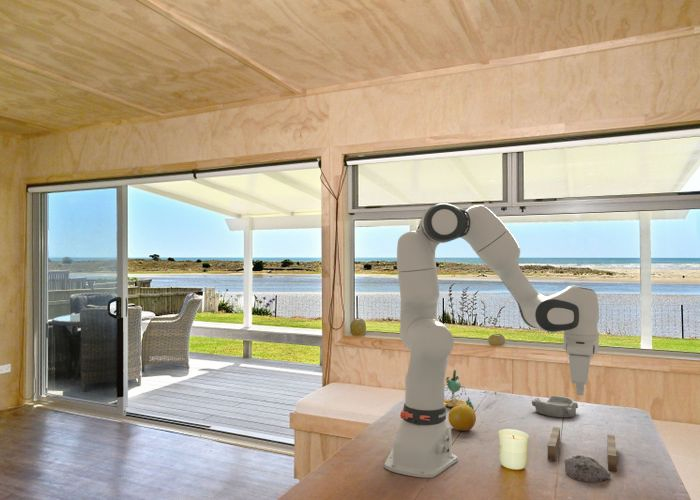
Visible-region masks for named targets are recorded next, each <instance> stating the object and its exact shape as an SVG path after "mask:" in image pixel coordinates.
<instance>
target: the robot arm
mask: <svg viewBox="0 0 700 500" xmlns="http://www.w3.org/2000/svg"><path fill="white" fill-rule="evenodd" d="M457 239H463V240H464V241H465V242H466V243H468V244H469V246H470V247H471V248H472V250H473V251H474V252H475V254H476V255H477V256H478V258H479V259H480V260H481V261H482V262H483V263H484V264H485V265H486V266H487V267H488V268H489V269H490V270H491V271H492V272H493V273H494V274H495V275H496V276H497V277H498V278H499V279H500V280H501V282H502V283H503V284H504V285H505V287H506V288H507V290H508V291H509V292H510V294H511V295H512V296H513V298H514V300H515V301H516V303H517V306H518V309H519V313H520V317H521V319H522V321H523V322H524V323H525V324H526V325H527V326H528V327H530V328H533V329H538V330H541V331H544V332H548V333H555V332H563V350H565V352H566V354H567V356H568V360H569V372H570V380H571V384H575V389H576V395H577V396H581V397H582V396H584V395H585V394H584V393H585V386H586V385H587V383H588V378H589V371H590V363H591V360H592V359H593V358H594V354H597V353H599V338H600V337H599V330H598V323H599V319H600V313H599V312H600V309H599V306H600V305H599V299H598V295H597V293H596V291H595V290H594V289H591V288H589V287H584V286H579V285H568V286H567V287H566V288H565V289H563V290H561V291H558V292H557V293H555V294H551V295H549V296H546V295H543V294H541V293H540V292H539V291H537V290H536V289H535V288H534V286H533V285H532V284H531V282H530V280H529V279H528V278H527V277H526V275H525V273H524V272H523V270H522V269H521V267H520V263H519V261H520V259H519V258H520V256H521V248H520V245H519V243H518V241H517V240H516V238H515V236H514V235H513V234H512V232H511V231H510V230H509V228H508V227H507V226H506V224H504V222H503V221H502V219H500V218H499V217H498V216H497V215H496V214H495V213H494V212H493V211H492V210H490V209H489V208H488V207H486V206H485V205H481V204H477V205H473V206H470V207H469V208H467V209H463V208H461V207H458V206H456V205H453V204H452V203H447V202H446V203H445V202H440V203H437V204H434V205H431V206H430V207H428V208H427V209H426V210H425V212H424V213H423V214H422V218H421V219H420V221H419V223H418V226H417V229H415V230H410V231H407V232H405V233H404V234H402V235H400V236H399V238H398V240H397V247H396V265H397V267H396V268H397V276H398V283H399V286H398V287H399V293H400V312H399V313H400V317H399V319H400V323H399V324H400V326H399V337H400V340H401V342H402V344H403V346H404V347H405V348H406V349H407V350H409V353H410V355H409V364H408V368H407V372H406V374H405V376H404V377H405V379H404V380H405V381H404V383H405V384H404V385H405V387H404V390H405V391H404V392H405V394H404V395H405V397H404V399H405V401H404V402H405V403H404V404H403V408H402V410H401V411H400V414H399V418H400V419H402V420H400V424H399V427H398V430H397V432H396V435H395V439H394V442H393V445H392V446H393V447H392V448H391V450H390V453H389V454H388V456H387V458H386V460H385V462H384V466H383V468H384V469H386V470H387V471H389V472H392V473H397V474H401V475H404V476H410V477H415V478H417V477H418V478H435V477H436V476H438V475H439V474H441V473H442V472H443V471H445V470H446V469H448V468H449V467H451V466H452V465H453V464H455V463H456V462H458V455H456V454H454V453H453V443H452V429H451V428H450V426H449V425H448V424H447V422H446V419H447V409H446V408H447V406H445V405H444V400H445V391H444V390H445V387H444V384H445V380H446V373H447V366H448V362H449V357H450V355H451V353H452V352H453V350H454V344H455V340H454V336H453V334H452V332H451V331H450V329H449V328H448V327H447V326H446V325H445V324H444V323H443V322H441V321H439V320H438V319H437V311H438V301H439V298H440V289H439V287H440V286H439V279H438V271H437V263H436V249H437V247H438V246H439V245H440V244H445V243H448V242H451V241H454V240H457Z"/></svg>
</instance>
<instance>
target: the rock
mask: <svg viewBox="0 0 700 500" xmlns="http://www.w3.org/2000/svg"><path fill="white" fill-rule="evenodd" d="M563 462H564V471H565V473H566V474H567V475H568V476H569V477H570V478H571V479H573V480H576V481H578V480H579V481H578V482H585V483H587V482H588V483H595V482H596V483H599V482H602V481H604V480H608V479H609V478H611V473H610V472H608V470H607V469H606V468H605V467H604V466H603V465H601V464H600V463H599V462H598V460H596V459H594V458H591V457H589V456H584V455H574V456H572V457H569V458H568V459H567V458H565V459H564V461H563Z"/></svg>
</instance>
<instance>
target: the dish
mask: <svg viewBox="0 0 700 500" xmlns="http://www.w3.org/2000/svg"><path fill="white" fill-rule="evenodd" d="M531 404H532V406H533V407H534V408H535V411H536V412H537V413H539V414H541V415H544V416H547V417H548V416H549V417H553V418H571V417H573V416H575V415H576V413H577V409H578V408H579V405H578V402H577V401H574V400H573V399H572V398H570V397H566V396H561V395H551V396H550V397H549V399H548V400H547V401H542V400H541V399H540V398H539V397H537V396H536V397H535V398H534V399H531Z"/></svg>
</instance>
